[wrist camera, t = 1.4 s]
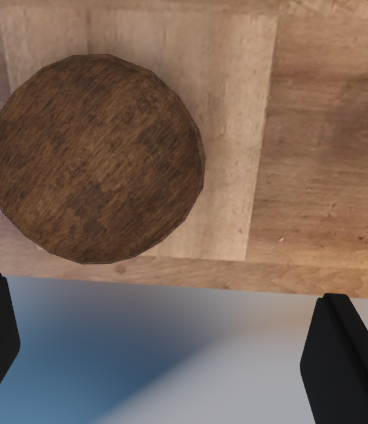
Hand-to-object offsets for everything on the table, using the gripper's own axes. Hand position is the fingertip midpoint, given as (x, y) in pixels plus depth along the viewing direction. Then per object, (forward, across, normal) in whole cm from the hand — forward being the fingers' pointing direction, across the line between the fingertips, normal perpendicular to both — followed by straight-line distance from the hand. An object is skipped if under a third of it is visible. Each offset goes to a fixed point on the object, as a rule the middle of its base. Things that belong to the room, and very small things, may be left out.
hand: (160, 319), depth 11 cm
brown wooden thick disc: (+29, +9, +4) cm, 30 cm away
